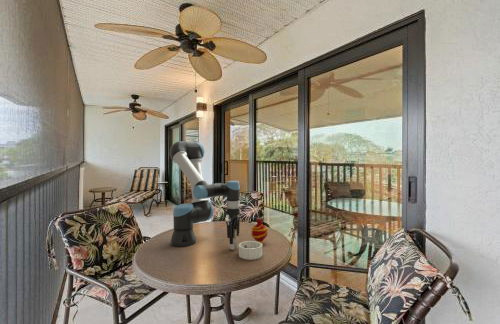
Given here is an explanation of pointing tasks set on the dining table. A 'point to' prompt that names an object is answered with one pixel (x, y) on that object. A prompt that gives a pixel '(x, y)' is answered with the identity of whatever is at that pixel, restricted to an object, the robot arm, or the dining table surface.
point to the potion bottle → (259, 231)
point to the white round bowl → (250, 250)
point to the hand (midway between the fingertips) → (233, 248)
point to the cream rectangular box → (235, 239)
